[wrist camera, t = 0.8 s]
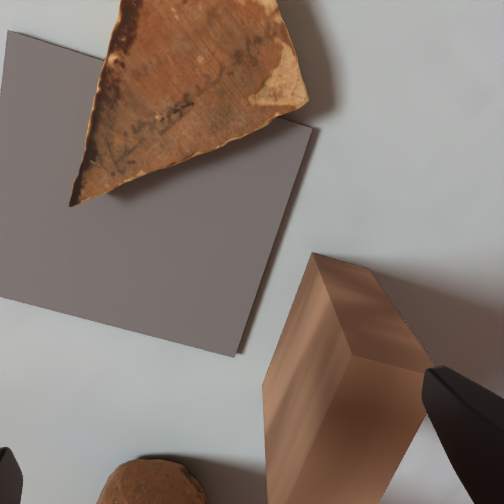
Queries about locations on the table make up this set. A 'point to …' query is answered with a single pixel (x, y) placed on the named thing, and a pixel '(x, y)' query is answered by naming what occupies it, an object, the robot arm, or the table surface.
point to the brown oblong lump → (152, 484)
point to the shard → (185, 86)
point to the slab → (340, 390)
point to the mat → (132, 213)
